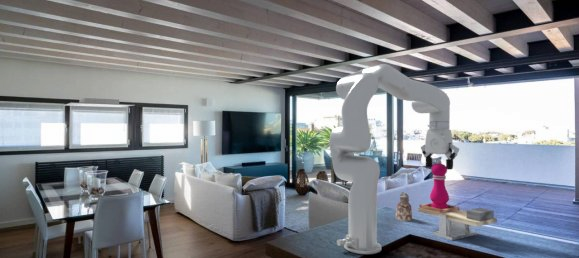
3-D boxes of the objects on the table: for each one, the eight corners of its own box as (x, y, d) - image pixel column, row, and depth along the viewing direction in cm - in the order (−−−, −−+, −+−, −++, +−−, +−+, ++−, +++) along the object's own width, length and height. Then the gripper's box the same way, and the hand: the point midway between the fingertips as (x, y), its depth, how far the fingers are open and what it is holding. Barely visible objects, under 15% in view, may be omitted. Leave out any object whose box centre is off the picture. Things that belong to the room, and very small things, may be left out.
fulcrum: (451, 240, 122) (451, 217, 122) (433, 234, 129) (433, 212, 129) (477, 234, 129) (477, 212, 129) (458, 229, 136) (458, 208, 136)
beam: (476, 226, 115) (476, 213, 115) (418, 211, 137) (418, 200, 138) (496, 222, 121) (496, 209, 121) (437, 208, 143) (437, 198, 143)
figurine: (396, 220, 149) (396, 193, 150) (395, 216, 156) (395, 191, 156) (413, 221, 148) (413, 194, 148) (411, 217, 155) (411, 191, 155)
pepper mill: (445, 206, 140) (444, 159, 140) (452, 210, 133) (451, 160, 133) (427, 206, 141) (427, 159, 141) (433, 210, 134) (432, 160, 134)
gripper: (415, 126, 141) (415, 166, 141) (452, 125, 126) (451, 170, 126) (427, 126, 145) (427, 165, 145) (464, 126, 130) (464, 170, 129)
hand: (438, 168), depth 135 cm, fingers open, 9 cm apart
